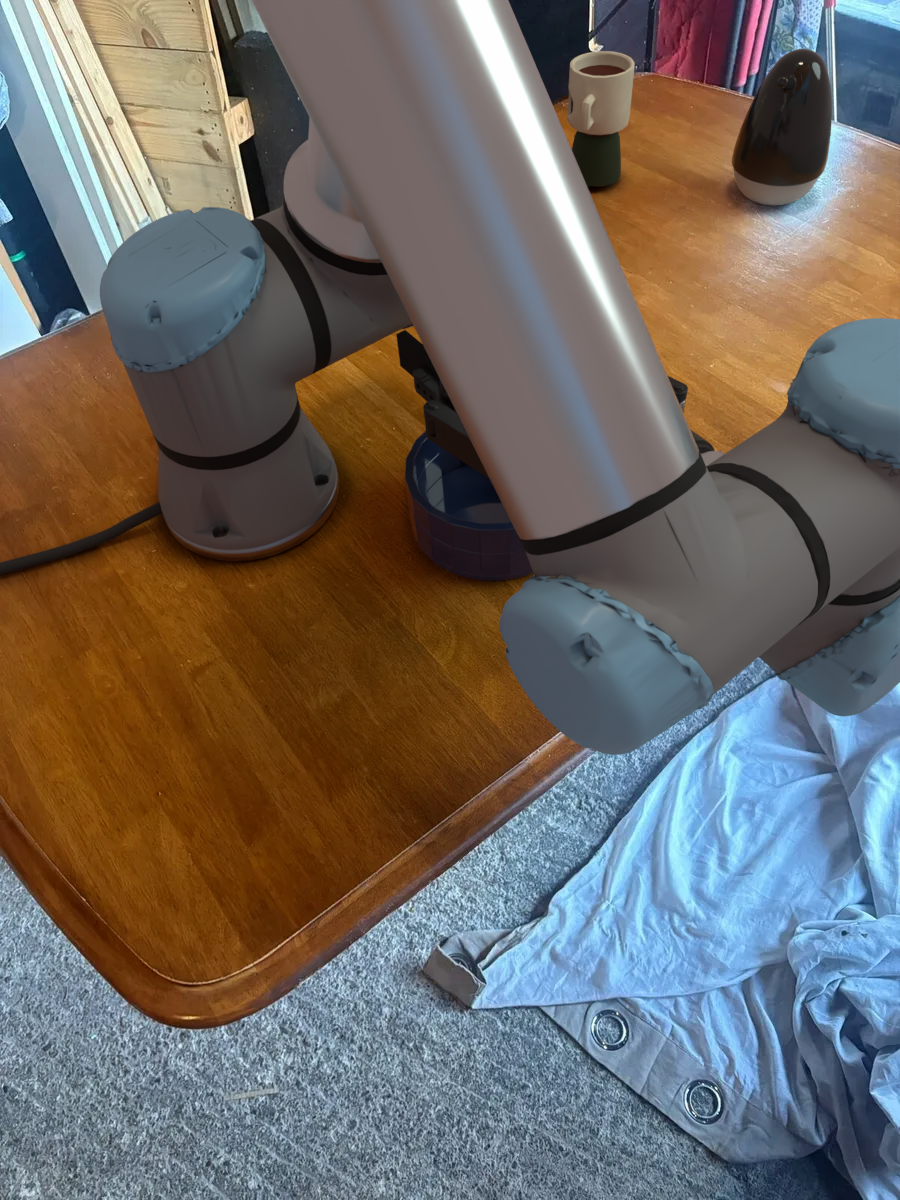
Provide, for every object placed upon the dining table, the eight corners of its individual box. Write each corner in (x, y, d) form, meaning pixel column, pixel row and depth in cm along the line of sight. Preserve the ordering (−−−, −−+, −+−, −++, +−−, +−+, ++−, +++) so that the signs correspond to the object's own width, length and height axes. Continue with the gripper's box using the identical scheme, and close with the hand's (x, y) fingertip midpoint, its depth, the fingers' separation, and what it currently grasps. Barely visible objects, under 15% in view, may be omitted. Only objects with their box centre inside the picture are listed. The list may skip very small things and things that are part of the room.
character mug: (580, 155, 112) (586, 40, 101) (635, 163, 110) (647, 47, 99) (550, 197, 106) (554, 80, 96) (608, 207, 104) (618, 88, 93)
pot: (476, 609, 69) (473, 558, 64) (380, 507, 76) (371, 455, 71) (611, 527, 73) (618, 474, 68) (509, 438, 80) (508, 385, 76)
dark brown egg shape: (710, 204, 103) (735, 60, 91) (746, 165, 108) (775, 24, 96) (795, 226, 99) (834, 79, 87) (829, 185, 104) (870, 41, 92)
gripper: (537, 625, 52) (337, 425, 64) (783, 470, 59) (560, 315, 71) (539, 539, 46) (319, 336, 58) (812, 377, 53) (563, 225, 65)
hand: (451, 325), depth 64 cm, fingers closed on canned tomato, 8 cm apart
